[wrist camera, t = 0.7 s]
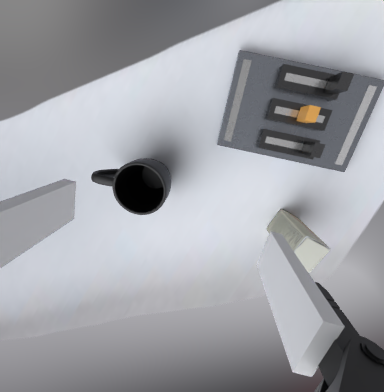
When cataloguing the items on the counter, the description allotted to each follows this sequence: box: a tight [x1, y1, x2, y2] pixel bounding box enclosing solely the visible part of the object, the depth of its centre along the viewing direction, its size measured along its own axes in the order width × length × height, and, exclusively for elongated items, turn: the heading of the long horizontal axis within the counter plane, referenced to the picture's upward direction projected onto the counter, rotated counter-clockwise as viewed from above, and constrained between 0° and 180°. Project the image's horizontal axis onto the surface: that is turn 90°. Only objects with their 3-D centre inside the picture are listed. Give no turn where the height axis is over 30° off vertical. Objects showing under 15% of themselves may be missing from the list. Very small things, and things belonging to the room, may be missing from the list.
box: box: [267, 209, 330, 273], centre depth 35 cm, size 5×4×11 cm
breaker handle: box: [296, 105, 321, 123], centre depth 30 cm, size 2×2×3 cm
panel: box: [217, 50, 384, 172], centre depth 31 cm, size 14×22×6 cm, turn 78°
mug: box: [91, 159, 171, 215], centre depth 35 cm, size 8×12×10 cm
